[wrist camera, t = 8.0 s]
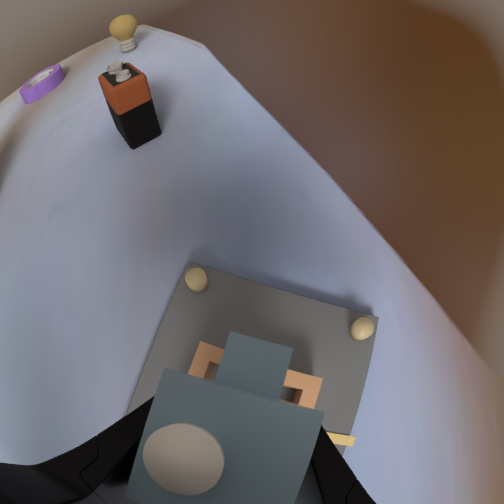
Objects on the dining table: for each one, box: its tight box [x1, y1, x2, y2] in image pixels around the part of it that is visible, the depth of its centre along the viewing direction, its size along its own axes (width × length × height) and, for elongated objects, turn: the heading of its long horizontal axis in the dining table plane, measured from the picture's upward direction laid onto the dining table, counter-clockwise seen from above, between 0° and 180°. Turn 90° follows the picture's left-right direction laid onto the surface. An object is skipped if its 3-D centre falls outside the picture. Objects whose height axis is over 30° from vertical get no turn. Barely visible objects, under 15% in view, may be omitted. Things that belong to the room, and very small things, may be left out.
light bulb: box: [109, 15, 137, 52], centre depth 44 cm, size 6×6×10 cm
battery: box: [98, 62, 161, 149], centre depth 28 cm, size 4×7×10 cm, turn 38°
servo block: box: [125, 331, 325, 504], centre depth 9 cm, size 9×4×11 cm, turn 164°
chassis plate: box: [127, 261, 379, 456], centre depth 17 cm, size 20×16×4 cm
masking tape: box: [19, 64, 64, 104], centre depth 43 cm, size 12×12×4 cm
